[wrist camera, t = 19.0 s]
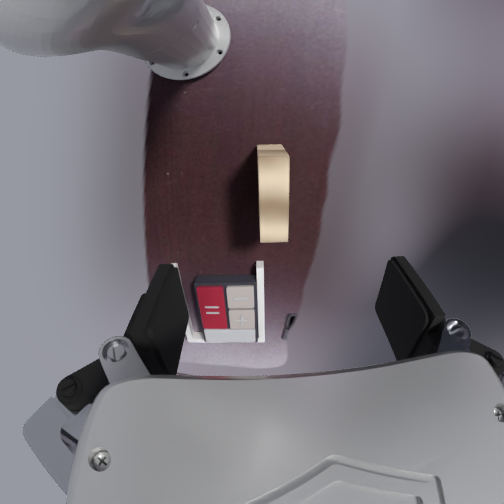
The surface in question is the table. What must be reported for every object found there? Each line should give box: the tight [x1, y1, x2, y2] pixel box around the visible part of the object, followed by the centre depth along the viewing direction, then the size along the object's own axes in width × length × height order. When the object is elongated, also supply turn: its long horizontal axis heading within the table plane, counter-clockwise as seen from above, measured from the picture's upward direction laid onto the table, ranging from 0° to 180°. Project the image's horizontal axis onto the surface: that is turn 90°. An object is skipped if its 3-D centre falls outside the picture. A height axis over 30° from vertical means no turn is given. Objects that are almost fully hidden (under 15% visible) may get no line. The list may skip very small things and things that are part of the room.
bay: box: [171, 261, 265, 343], centre depth 51 cm, size 19×16×2 cm
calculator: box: [194, 275, 258, 343], centre depth 51 cm, size 11×4×15 cm
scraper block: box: [257, 145, 289, 243], centre depth 36 cm, size 11×4×9 cm, turn 2°
